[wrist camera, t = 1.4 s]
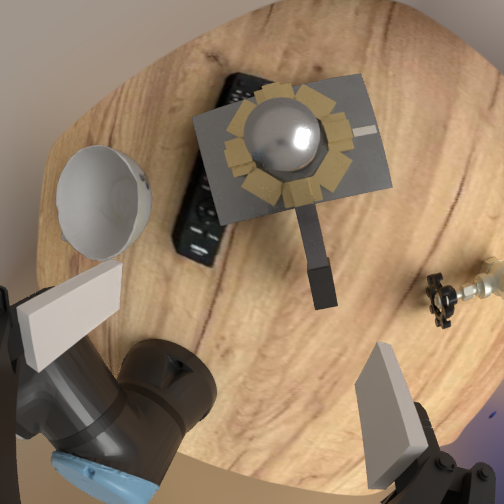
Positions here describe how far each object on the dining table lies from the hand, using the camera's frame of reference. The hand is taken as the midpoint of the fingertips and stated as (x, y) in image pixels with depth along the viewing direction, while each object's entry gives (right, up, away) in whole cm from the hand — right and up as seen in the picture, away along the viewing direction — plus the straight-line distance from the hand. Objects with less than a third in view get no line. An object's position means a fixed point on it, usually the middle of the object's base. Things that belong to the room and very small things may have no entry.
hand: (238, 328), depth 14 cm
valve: (+27, 0, +17) cm, 32 cm away
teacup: (-16, +10, +22) cm, 29 cm away
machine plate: (+5, +15, +17) cm, 23 cm away
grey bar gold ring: (+6, +9, +15) cm, 18 cm away
